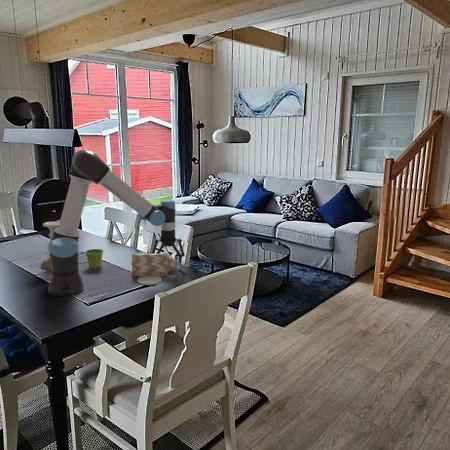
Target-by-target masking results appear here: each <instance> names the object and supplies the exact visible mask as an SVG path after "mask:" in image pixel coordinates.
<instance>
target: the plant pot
mask: <svg viewBox="0 0 450 450" xmlns="http://www.w3.org/2000/svg"><path fill="white" fill-rule="evenodd" d="M85 254H86V257H87V262H88V263H87V264H88V267H89V268H90V269H97V268H101V267H102V258H103V254H104V249H100V248H92V249H87V250H85Z"/></svg>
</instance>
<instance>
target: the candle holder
mask: <svg viewBox="0 0 450 450" xmlns="http://www.w3.org/2000/svg"><path fill="white" fill-rule="evenodd" d="M59 224H60V222H59V221H58V220H56V221H54V220H53V221H47V222H46V221H45V222H43V223H42V226H43V227H46V228H48V229H49V234H48V236H49V238H50V240H51V239H52V237H53V233H54V230H55V229H56V228H58V227H59ZM49 244H50V242H49V243H48V245H47V248H46V249H47V251H48V252H49V253H48V255H49V257H48V258H47V259H44V260H42V263H40V267H41V268H42V269H45V270H48V271H51V258H50V249H49Z"/></svg>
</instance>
